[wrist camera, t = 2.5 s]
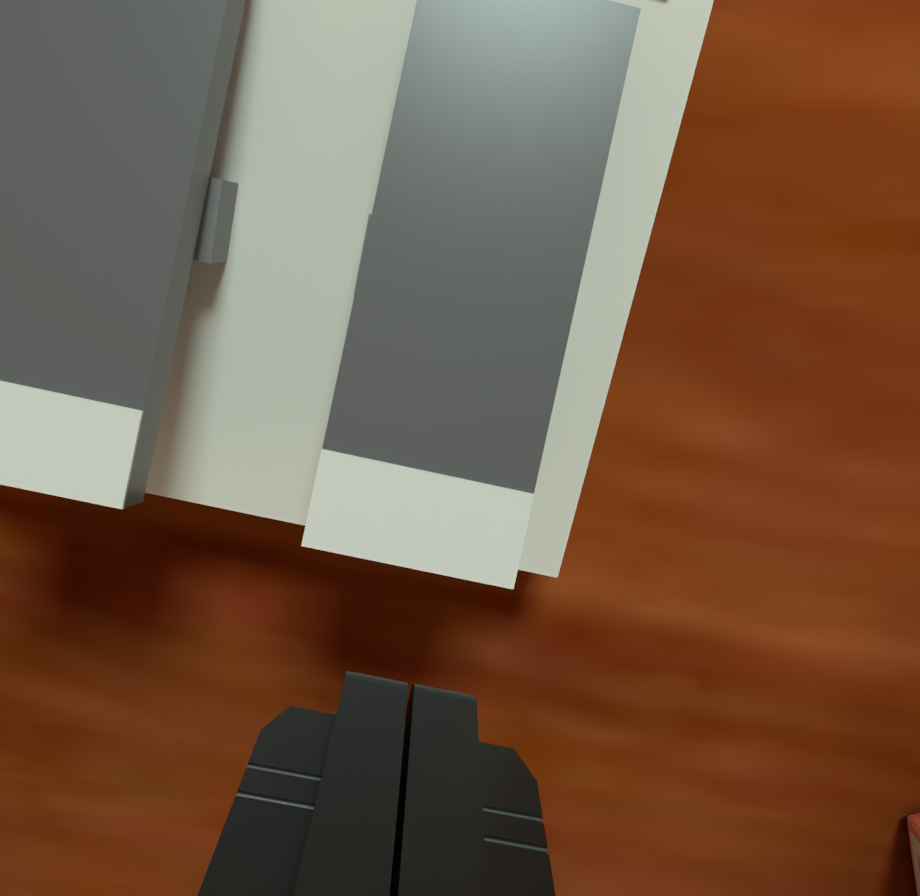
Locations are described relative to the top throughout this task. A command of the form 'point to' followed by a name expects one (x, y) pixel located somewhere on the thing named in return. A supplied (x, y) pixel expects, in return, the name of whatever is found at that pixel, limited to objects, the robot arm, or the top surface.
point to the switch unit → (342, 246)
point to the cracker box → (915, 846)
